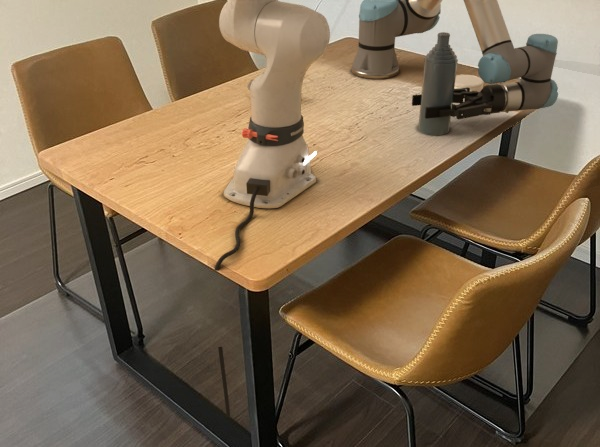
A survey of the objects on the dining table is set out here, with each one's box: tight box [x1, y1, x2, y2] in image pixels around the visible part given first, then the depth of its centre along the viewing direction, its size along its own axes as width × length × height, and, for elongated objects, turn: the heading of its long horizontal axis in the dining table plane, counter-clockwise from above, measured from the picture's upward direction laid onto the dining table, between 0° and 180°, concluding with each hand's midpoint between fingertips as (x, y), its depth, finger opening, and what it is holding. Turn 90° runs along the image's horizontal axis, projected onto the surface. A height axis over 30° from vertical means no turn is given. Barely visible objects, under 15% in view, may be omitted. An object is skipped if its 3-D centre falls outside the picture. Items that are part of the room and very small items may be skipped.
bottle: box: [417, 31, 459, 136], centre depth 158 cm, size 8×8×25 cm
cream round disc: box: [454, 74, 485, 92], centre depth 187 cm, size 10×10×4 cm
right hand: (419, 106), depth 160 cm, fingers closed on bottle, 8 cm apart
